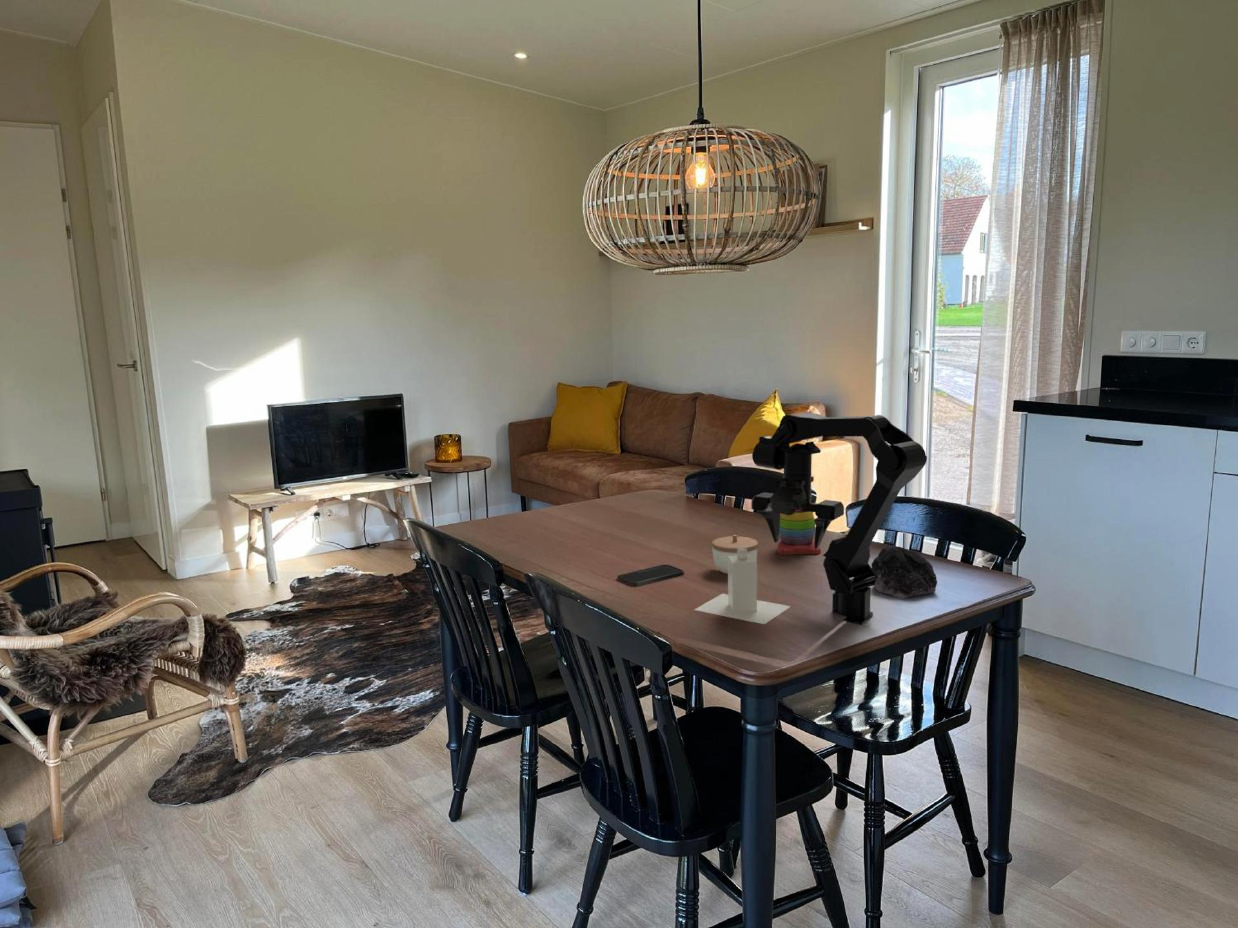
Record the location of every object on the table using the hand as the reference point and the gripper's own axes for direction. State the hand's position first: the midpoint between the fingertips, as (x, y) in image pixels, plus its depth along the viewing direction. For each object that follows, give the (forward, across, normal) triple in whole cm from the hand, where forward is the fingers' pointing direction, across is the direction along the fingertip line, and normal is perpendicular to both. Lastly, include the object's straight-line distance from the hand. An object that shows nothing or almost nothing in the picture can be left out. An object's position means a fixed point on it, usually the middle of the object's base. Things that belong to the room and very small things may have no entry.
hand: (796, 545), depth 183 cm
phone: (+13, -36, -2) cm, 38 cm away
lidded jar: (+13, -20, +10) cm, 26 cm away
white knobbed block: (+11, -6, -13) cm, 18 cm away
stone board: (+12, -6, -13) cm, 19 cm away
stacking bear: (+12, -16, +36) cm, 41 cm away
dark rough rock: (+12, +17, +19) cm, 28 cm away
